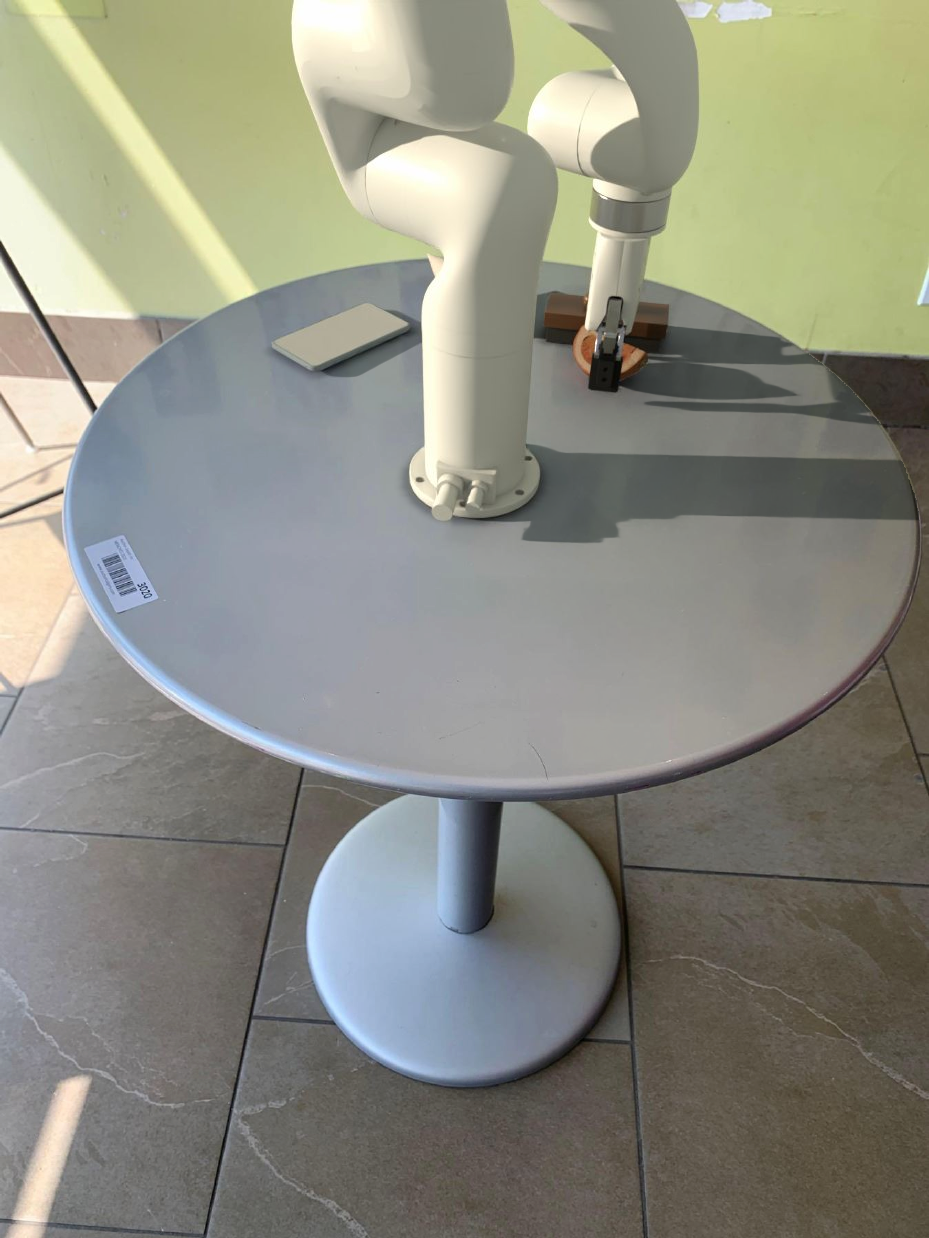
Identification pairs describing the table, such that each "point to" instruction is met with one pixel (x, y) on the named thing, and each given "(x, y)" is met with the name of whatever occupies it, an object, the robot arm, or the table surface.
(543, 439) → the table surface
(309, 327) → the smartphone
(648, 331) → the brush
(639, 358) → the fruit slice
